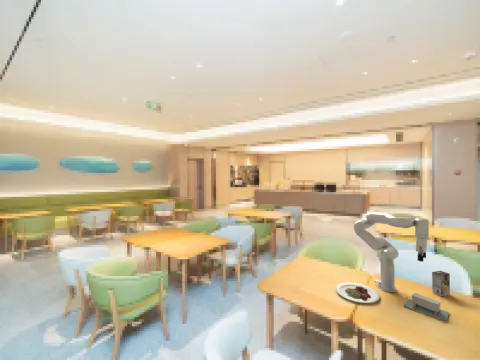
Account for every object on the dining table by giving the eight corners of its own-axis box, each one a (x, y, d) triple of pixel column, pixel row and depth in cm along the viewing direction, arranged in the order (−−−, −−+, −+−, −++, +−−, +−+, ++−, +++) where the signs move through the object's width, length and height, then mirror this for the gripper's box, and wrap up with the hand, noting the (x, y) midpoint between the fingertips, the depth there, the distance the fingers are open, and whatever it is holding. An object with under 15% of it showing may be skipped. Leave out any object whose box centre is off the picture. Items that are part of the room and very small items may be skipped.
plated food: (334, 299, 168) (333, 294, 168) (337, 281, 194) (337, 277, 194) (381, 309, 154) (381, 304, 154) (378, 289, 181) (377, 285, 180)
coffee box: (440, 290, 176) (440, 270, 176) (450, 294, 170) (450, 273, 169) (431, 292, 174) (431, 271, 173) (441, 296, 167) (441, 275, 167)
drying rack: (403, 306, 156) (403, 302, 156) (407, 300, 164) (407, 296, 164) (446, 321, 140) (446, 317, 140) (448, 313, 148) (449, 309, 148)
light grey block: (411, 302, 156) (411, 295, 156) (414, 299, 159) (414, 292, 159) (438, 312, 145) (438, 304, 145) (440, 309, 148) (440, 301, 148)
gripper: (417, 232, 170) (417, 254, 171) (412, 237, 159) (412, 261, 159) (430, 234, 165) (430, 257, 165) (426, 239, 153) (426, 264, 153)
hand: (421, 259), depth 162 cm, fingers open, 9 cm apart
